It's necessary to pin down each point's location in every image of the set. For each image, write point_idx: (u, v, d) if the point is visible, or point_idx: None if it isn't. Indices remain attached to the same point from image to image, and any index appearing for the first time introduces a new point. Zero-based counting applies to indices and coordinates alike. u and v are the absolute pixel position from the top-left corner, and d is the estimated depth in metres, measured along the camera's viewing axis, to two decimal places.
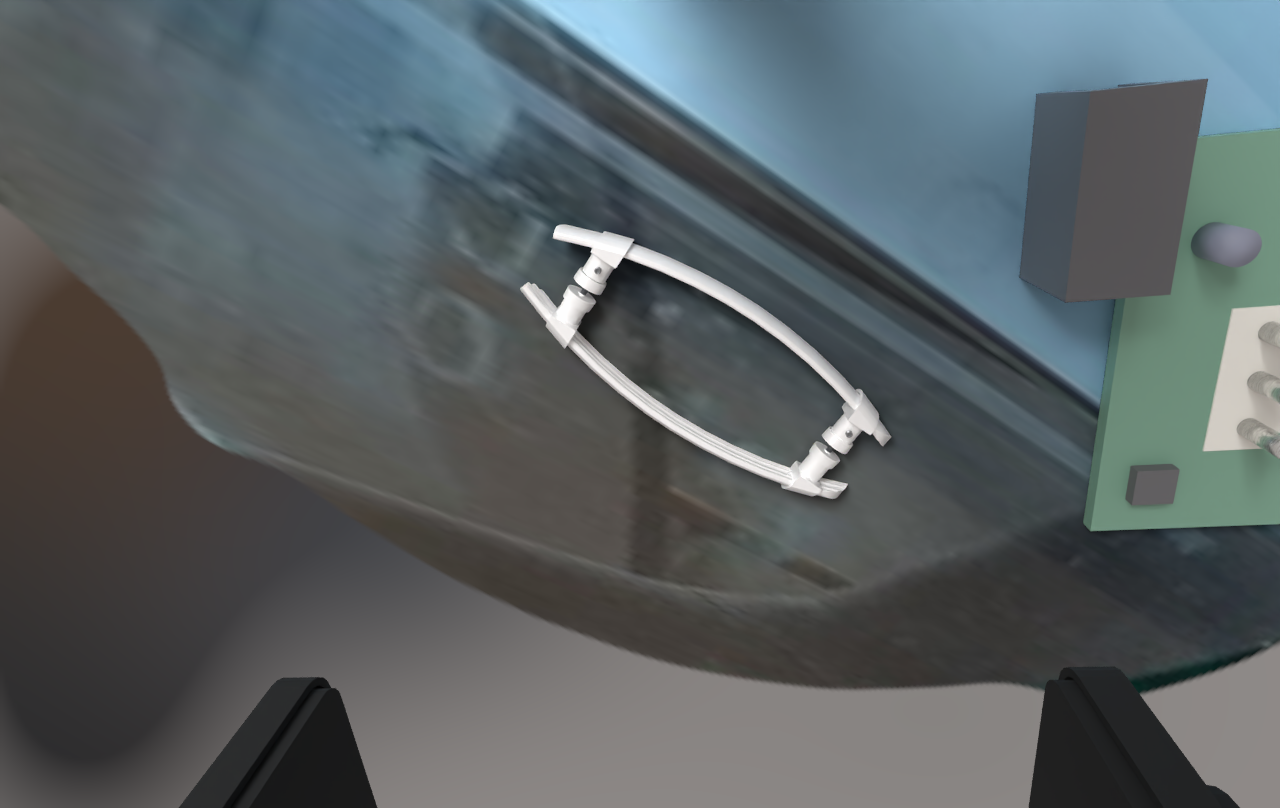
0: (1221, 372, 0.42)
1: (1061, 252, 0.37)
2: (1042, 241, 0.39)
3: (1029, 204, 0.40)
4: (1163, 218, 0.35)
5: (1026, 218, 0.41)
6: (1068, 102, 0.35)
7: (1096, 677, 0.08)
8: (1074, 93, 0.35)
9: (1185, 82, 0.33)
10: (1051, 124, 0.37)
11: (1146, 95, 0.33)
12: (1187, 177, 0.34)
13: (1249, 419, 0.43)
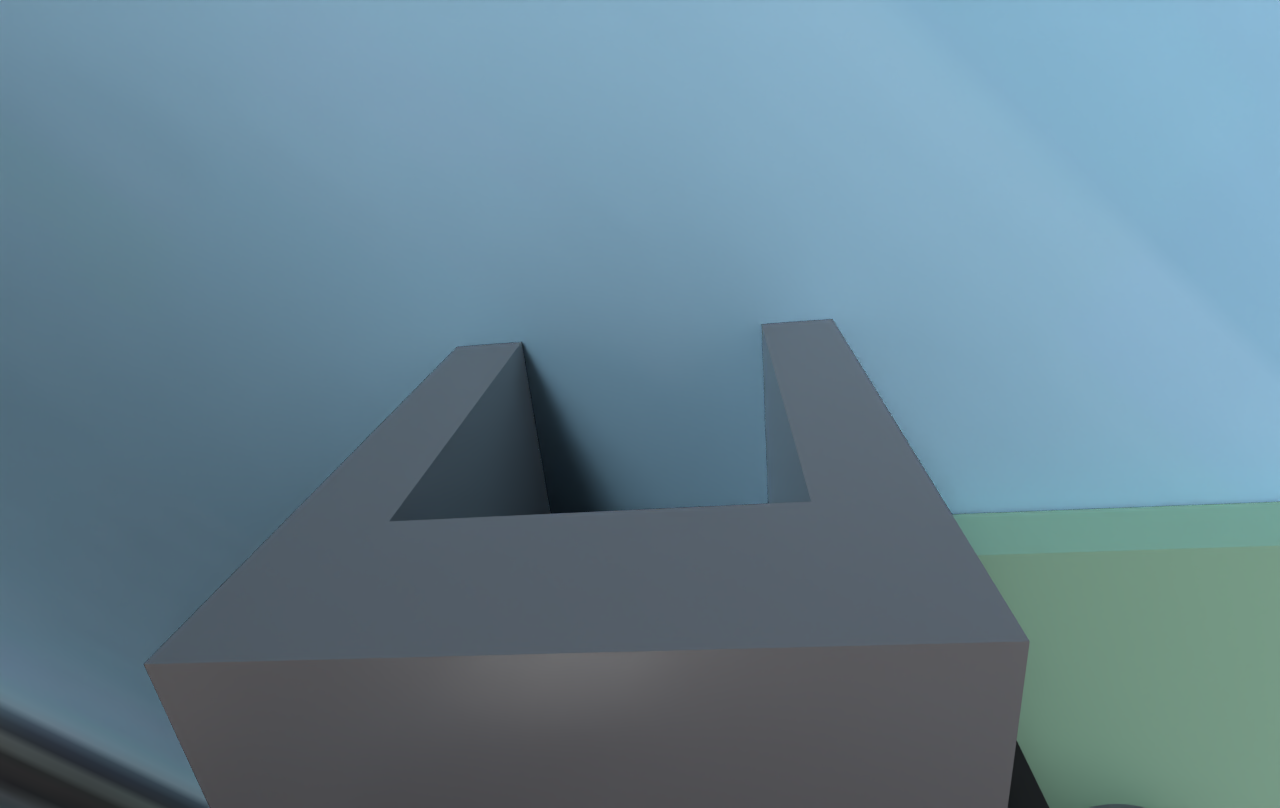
0: None
1: None
2: None
3: None
4: None
5: None
6: None
7: None
8: (283, 530, 0.06)
9: (843, 656, 0.04)
10: None
11: (557, 709, 0.04)
12: None
13: None
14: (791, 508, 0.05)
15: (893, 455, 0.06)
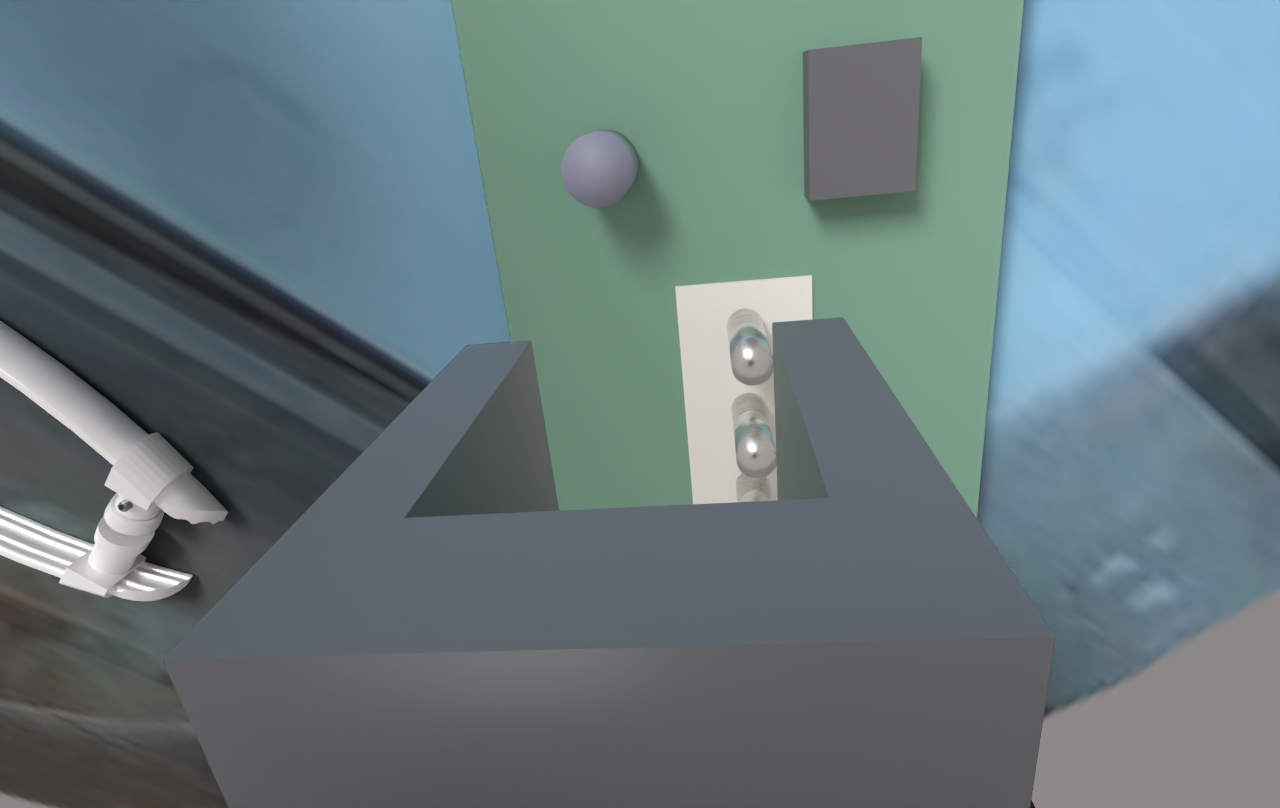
0: (689, 396, 0.25)
1: None
2: None
3: None
4: None
5: None
6: None
7: None
8: (298, 526, 0.06)
9: (867, 652, 0.04)
10: None
11: (577, 706, 0.04)
12: None
13: None
14: (809, 505, 0.05)
15: (910, 452, 0.06)
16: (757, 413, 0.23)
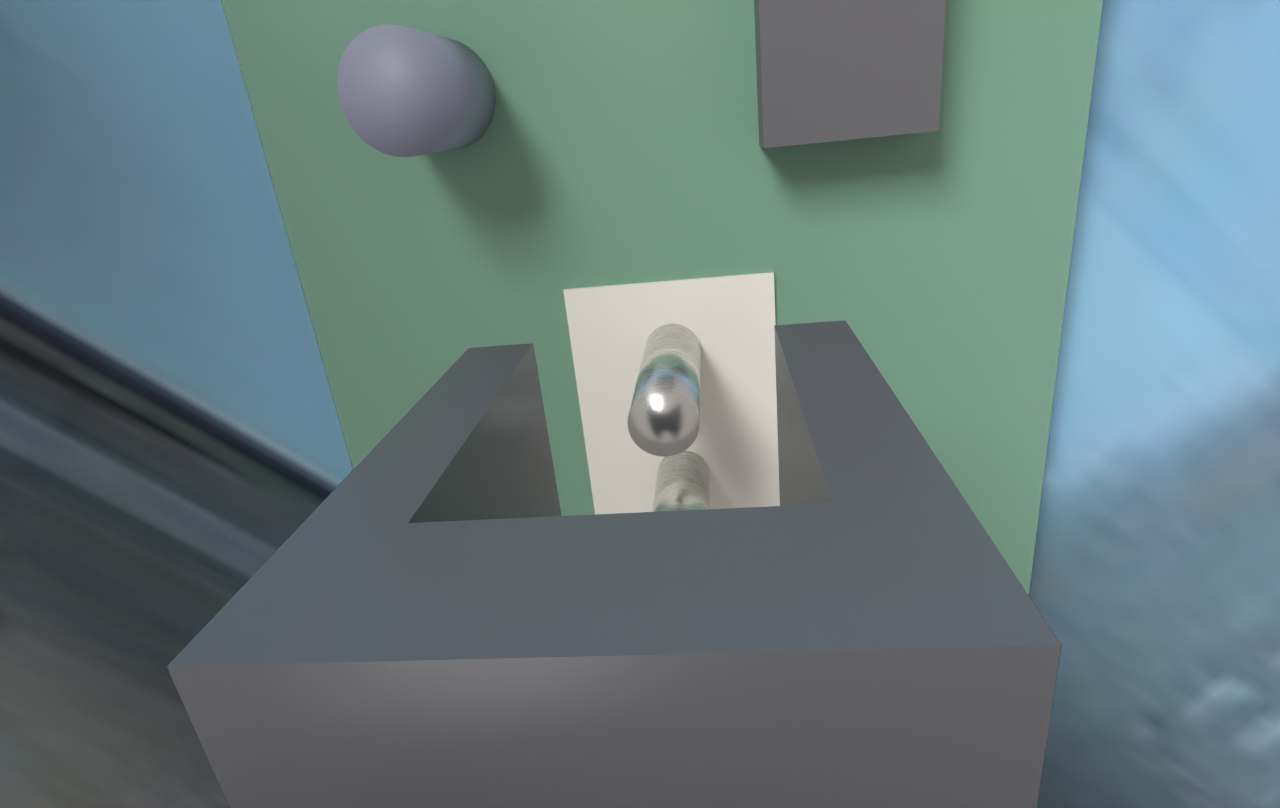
0: (594, 453, 0.17)
1: None
2: None
3: None
4: None
5: None
6: None
7: None
8: (302, 531, 0.06)
9: (873, 660, 0.04)
10: None
11: (584, 713, 0.04)
12: None
13: None
14: (813, 510, 0.05)
15: (914, 457, 0.06)
16: (688, 488, 0.15)
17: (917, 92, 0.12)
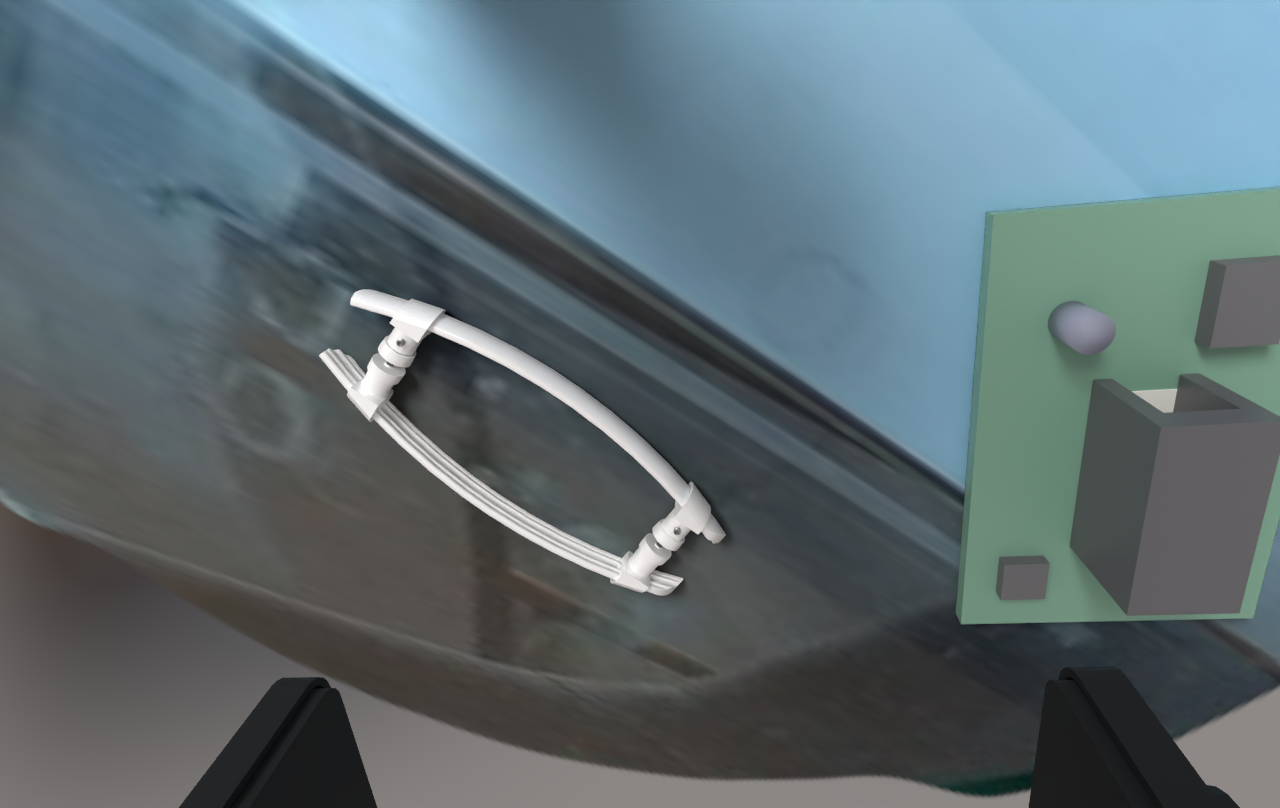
0: None
1: (1122, 562, 0.35)
2: (1099, 533, 0.37)
3: (1083, 483, 0.38)
4: (1235, 544, 0.33)
5: (1079, 495, 0.39)
6: (1133, 418, 0.33)
7: (1096, 677, 0.08)
8: (1141, 414, 0.33)
9: (1263, 423, 0.31)
10: (1111, 424, 0.35)
11: (1220, 432, 0.31)
12: (1262, 509, 0.32)
13: None
14: (1239, 409, 0.32)
15: (1249, 402, 0.33)
16: None
17: (1272, 331, 0.34)
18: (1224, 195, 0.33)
